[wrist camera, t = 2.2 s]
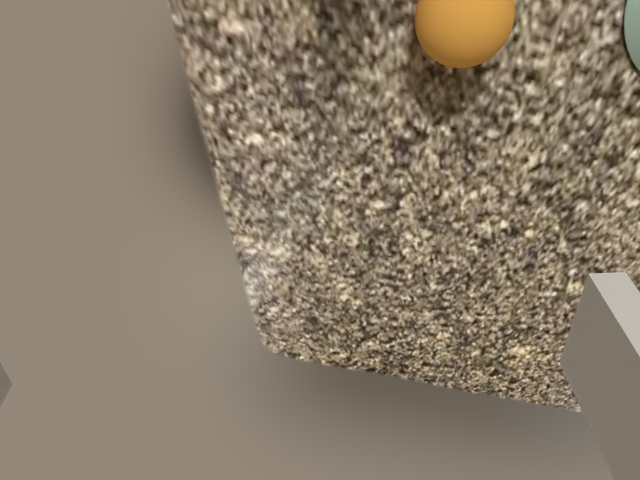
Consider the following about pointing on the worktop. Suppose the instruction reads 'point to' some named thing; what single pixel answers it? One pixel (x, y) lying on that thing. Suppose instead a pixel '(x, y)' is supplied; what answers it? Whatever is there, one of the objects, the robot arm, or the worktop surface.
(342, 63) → the worktop surface
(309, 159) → the worktop surface
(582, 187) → the worktop surface
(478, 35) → the ball
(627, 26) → the smooth pale green disc
